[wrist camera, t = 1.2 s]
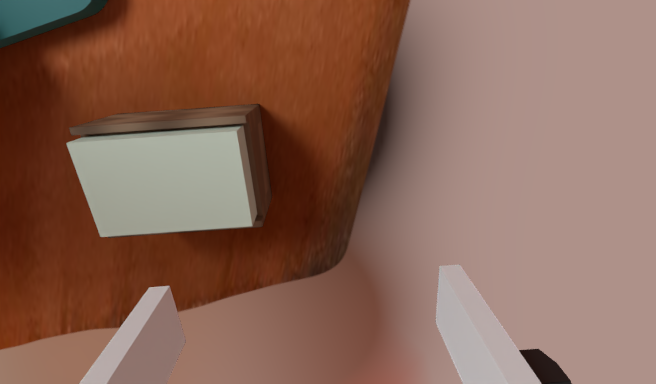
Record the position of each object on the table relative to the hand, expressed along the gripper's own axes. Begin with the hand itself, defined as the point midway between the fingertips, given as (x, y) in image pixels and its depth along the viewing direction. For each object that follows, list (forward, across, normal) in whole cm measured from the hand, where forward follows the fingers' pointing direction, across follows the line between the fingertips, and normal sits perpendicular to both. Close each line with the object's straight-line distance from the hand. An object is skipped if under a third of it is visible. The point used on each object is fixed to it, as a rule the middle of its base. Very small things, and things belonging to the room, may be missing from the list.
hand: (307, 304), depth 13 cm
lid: (+18, -12, 0) cm, 21 cm away
